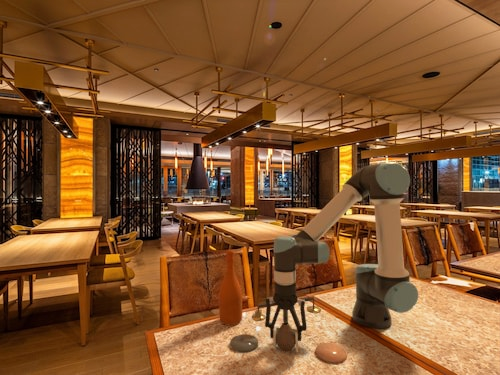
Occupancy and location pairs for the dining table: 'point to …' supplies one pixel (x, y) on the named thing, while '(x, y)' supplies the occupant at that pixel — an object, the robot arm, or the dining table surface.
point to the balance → (284, 311)
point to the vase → (285, 337)
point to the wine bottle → (230, 295)
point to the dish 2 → (331, 352)
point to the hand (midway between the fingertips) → (286, 348)
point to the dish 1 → (244, 343)
